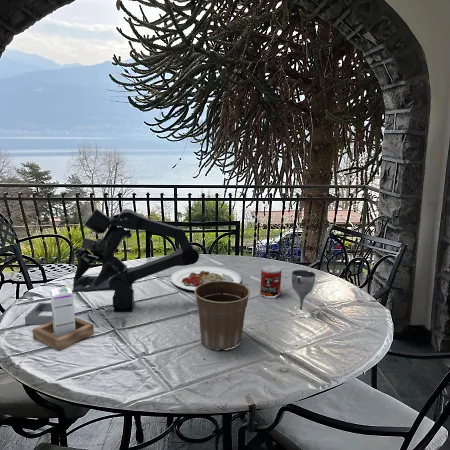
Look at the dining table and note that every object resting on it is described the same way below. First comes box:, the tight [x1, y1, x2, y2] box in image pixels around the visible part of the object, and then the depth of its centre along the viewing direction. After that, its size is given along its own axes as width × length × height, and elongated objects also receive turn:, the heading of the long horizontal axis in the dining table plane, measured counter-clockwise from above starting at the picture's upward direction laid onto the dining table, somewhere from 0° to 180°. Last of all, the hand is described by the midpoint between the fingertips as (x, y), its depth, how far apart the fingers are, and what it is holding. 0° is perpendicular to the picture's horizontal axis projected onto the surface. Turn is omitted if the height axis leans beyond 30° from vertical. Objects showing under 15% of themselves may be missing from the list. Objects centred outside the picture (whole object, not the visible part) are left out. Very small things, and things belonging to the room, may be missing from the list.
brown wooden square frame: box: [32, 317, 95, 351], centre depth 116 cm, size 12×12×3 cm
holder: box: [24, 302, 53, 325], centre depth 128 cm, size 11×11×2 cm
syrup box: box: [49, 286, 76, 337], centre depth 115 cm, size 6×6×14 cm
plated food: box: [170, 265, 242, 292], centre depth 166 cm, size 30×30×3 cm
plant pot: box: [194, 281, 251, 350], centre depth 115 cm, size 16×16×16 cm
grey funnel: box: [291, 269, 317, 310], centre depth 135 cm, size 8×8×15 cm
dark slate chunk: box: [72, 275, 113, 292], centre depth 158 cm, size 15×22×5 cm
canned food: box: [259, 265, 282, 296], centre depth 152 cm, size 8×8×11 cm
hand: (84, 282), depth 122 cm, fingers open, 9 cm apart
